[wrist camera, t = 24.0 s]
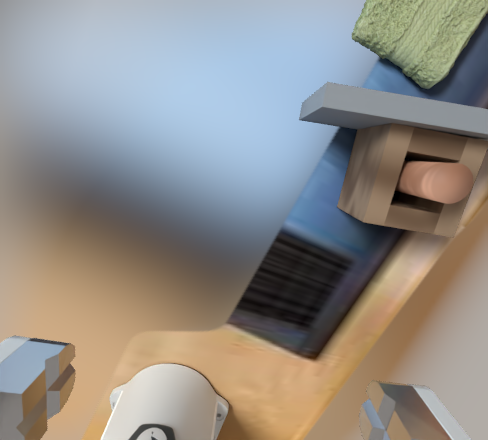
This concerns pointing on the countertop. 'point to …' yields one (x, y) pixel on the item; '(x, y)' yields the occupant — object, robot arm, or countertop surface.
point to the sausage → (435, 180)
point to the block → (388, 170)
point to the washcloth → (419, 33)
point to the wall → (391, 111)
